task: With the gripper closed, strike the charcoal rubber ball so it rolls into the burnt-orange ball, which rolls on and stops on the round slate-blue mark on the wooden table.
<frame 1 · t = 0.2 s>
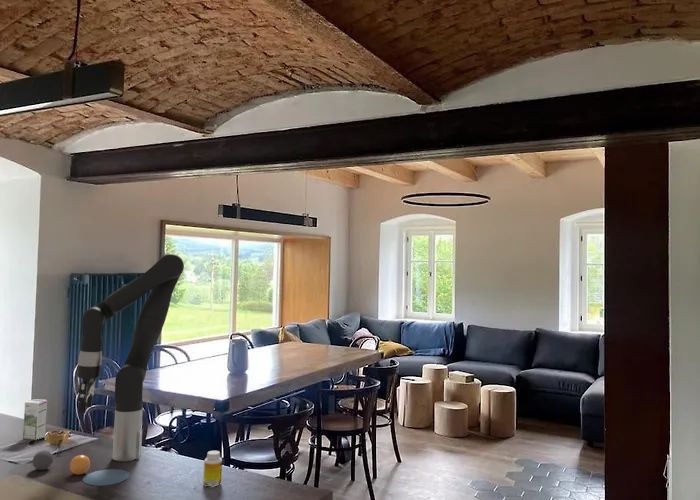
hand: (85, 409, 199), 17 cm above the counter, tool pointing down, fingers open, 8 cm apart
object ball: (80, 464, 185), on the counter
supplement bottle: (212, 485, 180), on the counter
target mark: (106, 477, 183), on the counter
syrup box: (34, 438, 220), on the counter
cue ball: (42, 460, 188), on the counter
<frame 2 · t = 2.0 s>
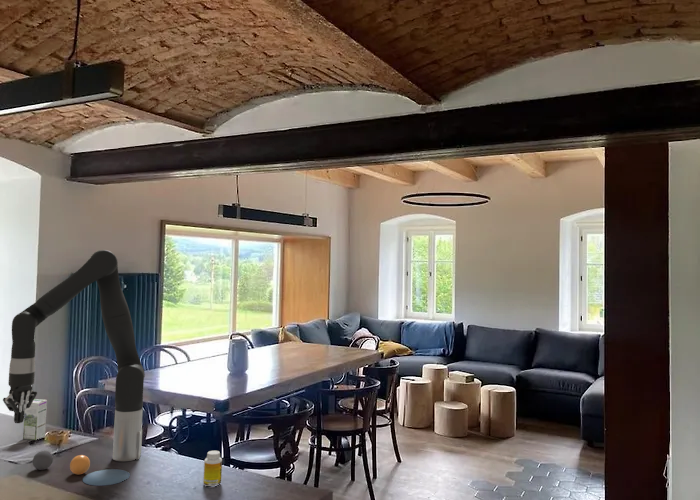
hand: (18, 422, 190), 15 cm above the counter, tool pointing down, fingers closed
nothing on the counter moved.
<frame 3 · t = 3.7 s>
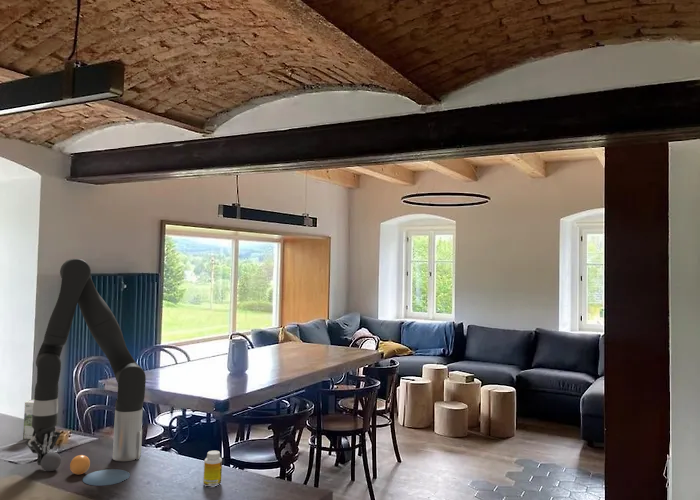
hand: (42, 464, 188), 1 cm above the counter, tool pointing down, fingers closed
cue ball: (51, 461, 187), on the counter, touching gripper
everything else where it was.
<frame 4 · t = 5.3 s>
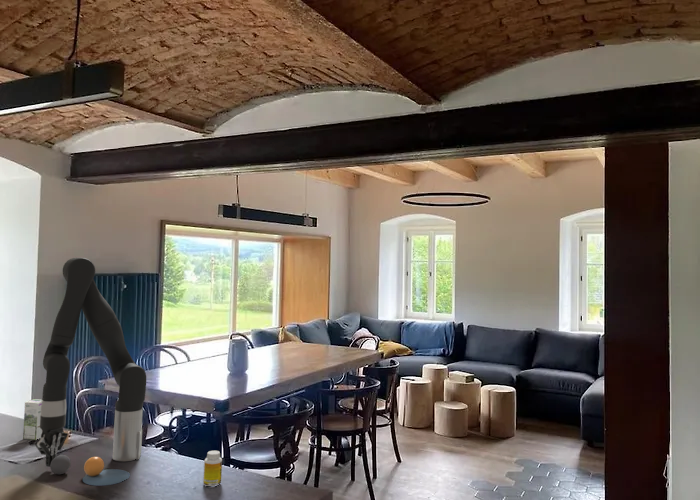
hand: (50, 465, 187), 2 cm above the counter, tool pointing down, fingers closed
object ball: (94, 466, 184), on the counter
cue ball: (60, 464, 184), on the counter
everything else where it was.
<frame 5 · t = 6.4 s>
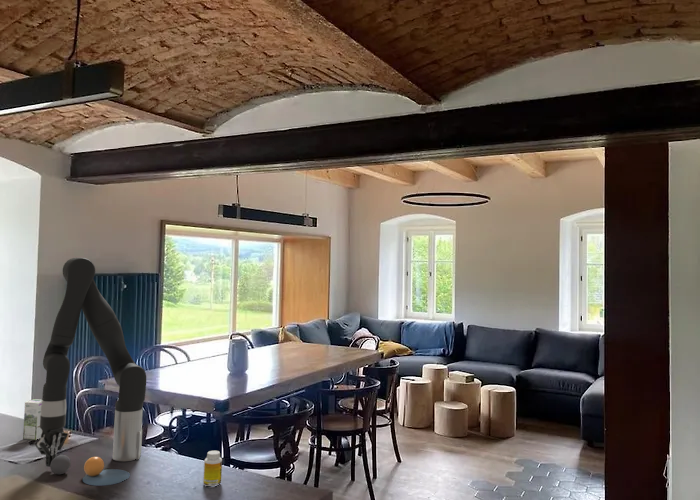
hand: (50, 465, 187), 2 cm above the counter, tool pointing down, fingers closed
nothing on the counter moved.
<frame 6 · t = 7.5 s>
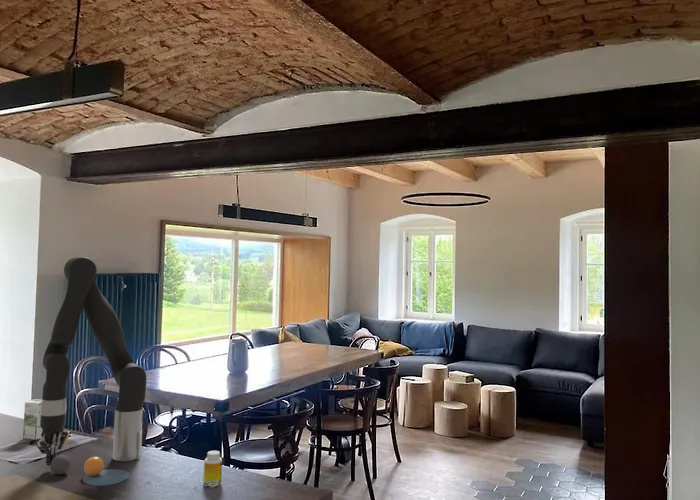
hand: (50, 464, 187), 2 cm above the counter, tool pointing down, fingers closed
nothing on the counter moved.
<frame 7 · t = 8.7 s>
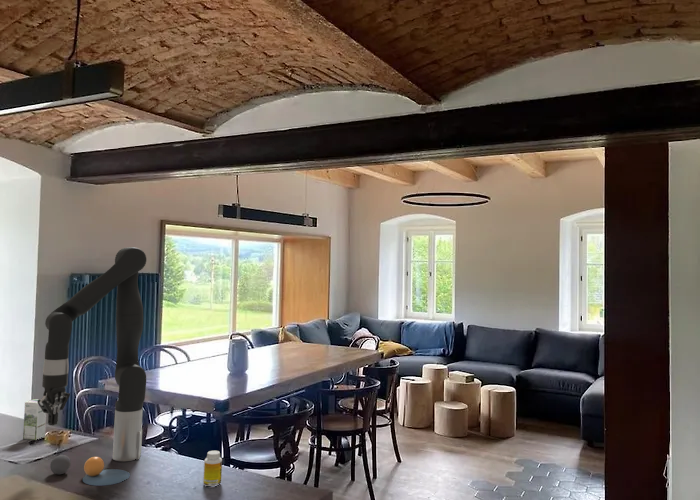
hand: (52, 424, 187), 15 cm above the counter, tool pointing down, fingers closed
nothing on the counter moved.
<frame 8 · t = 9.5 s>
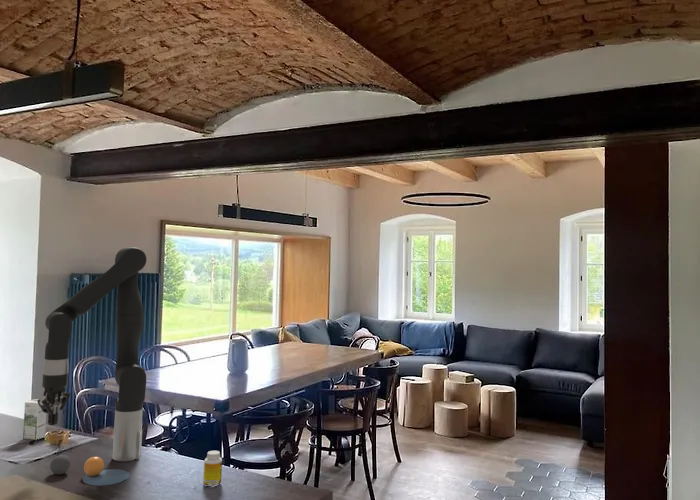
hand: (52, 424, 187), 15 cm above the counter, tool pointing down, fingers closed
nothing on the counter moved.
at the end: object ball 4.8 cm from the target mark (horizontally); object ball never touched the robot; cue ball first touched object ball at 3.9 s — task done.
